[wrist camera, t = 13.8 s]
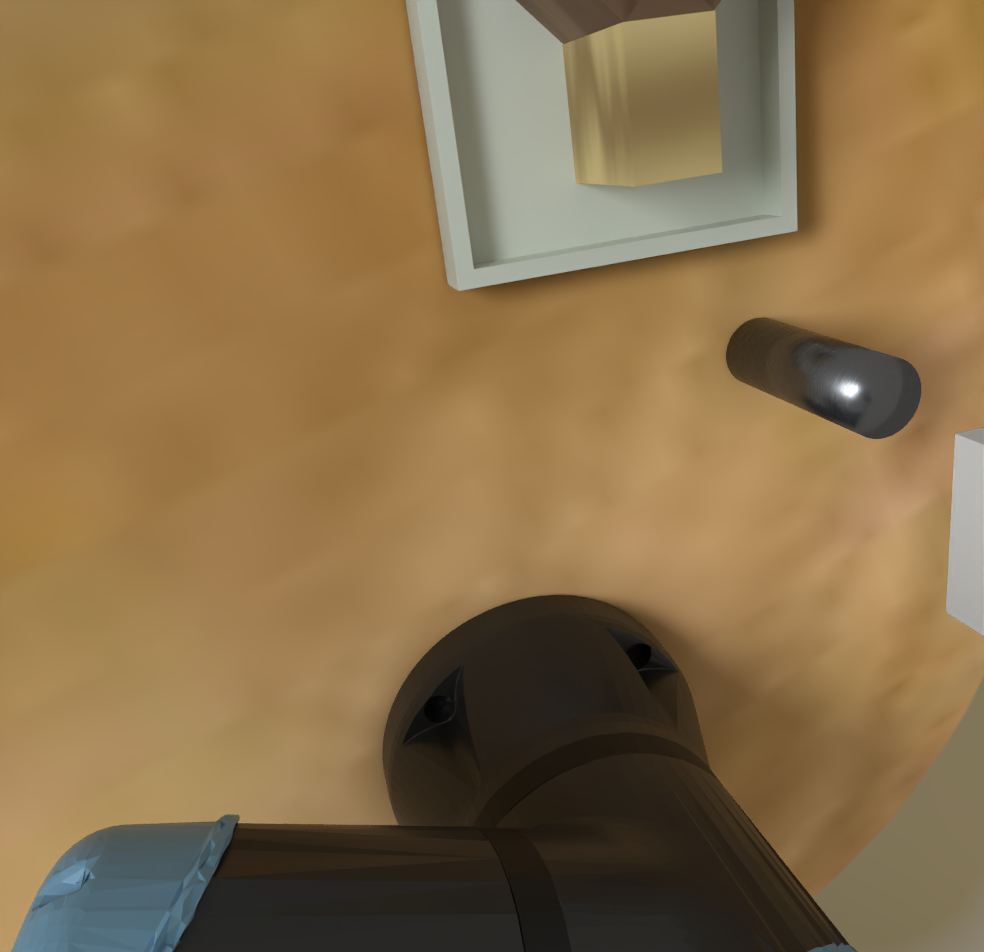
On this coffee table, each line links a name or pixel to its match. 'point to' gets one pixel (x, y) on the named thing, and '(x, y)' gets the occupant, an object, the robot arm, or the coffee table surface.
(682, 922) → the robot arm
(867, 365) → the cylinder
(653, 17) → the brown octagonal handled piece
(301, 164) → the coffee table surface
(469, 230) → the tray
